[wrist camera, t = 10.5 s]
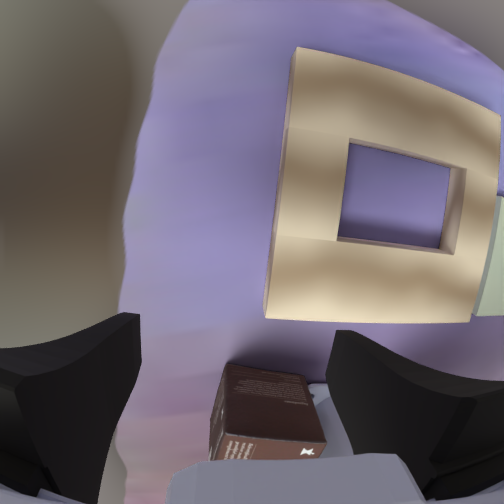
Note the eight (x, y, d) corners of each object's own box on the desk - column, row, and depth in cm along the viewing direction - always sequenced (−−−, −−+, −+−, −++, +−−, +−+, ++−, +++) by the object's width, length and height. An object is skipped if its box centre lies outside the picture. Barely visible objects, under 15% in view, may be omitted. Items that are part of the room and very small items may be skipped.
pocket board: (455, 312, 22) (468, 322, 20) (262, 305, 21) (265, 318, 19) (484, 117, 19) (500, 115, 17) (291, 58, 17) (297, 46, 16)
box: (225, 359, 22) (224, 431, 15) (306, 373, 23) (331, 442, 15) (209, 419, 23) (205, 490, 16) (281, 430, 24) (295, 498, 17)
